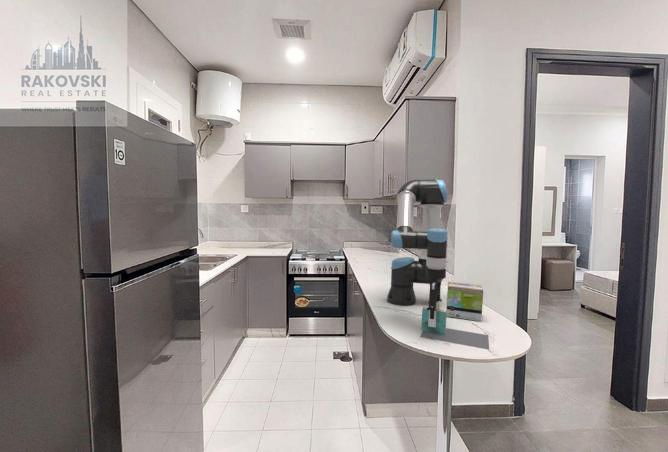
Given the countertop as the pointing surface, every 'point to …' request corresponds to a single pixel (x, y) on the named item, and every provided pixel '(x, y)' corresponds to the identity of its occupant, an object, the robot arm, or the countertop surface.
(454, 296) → the tea box
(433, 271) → the robot arm
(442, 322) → the tile
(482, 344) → the mat
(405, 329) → the countertop surface
